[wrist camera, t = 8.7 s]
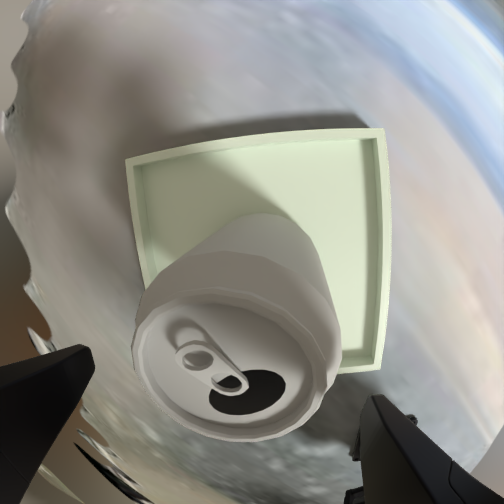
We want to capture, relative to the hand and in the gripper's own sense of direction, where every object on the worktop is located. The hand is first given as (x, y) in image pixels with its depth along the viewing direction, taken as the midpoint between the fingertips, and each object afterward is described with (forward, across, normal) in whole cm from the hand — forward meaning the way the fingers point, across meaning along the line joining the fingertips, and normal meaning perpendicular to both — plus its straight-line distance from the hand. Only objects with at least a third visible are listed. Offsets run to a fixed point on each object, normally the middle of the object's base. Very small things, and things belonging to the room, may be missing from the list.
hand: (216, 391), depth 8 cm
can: (+12, 0, 0) cm, 12 cm away
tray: (+13, 0, 0) cm, 13 cm away
